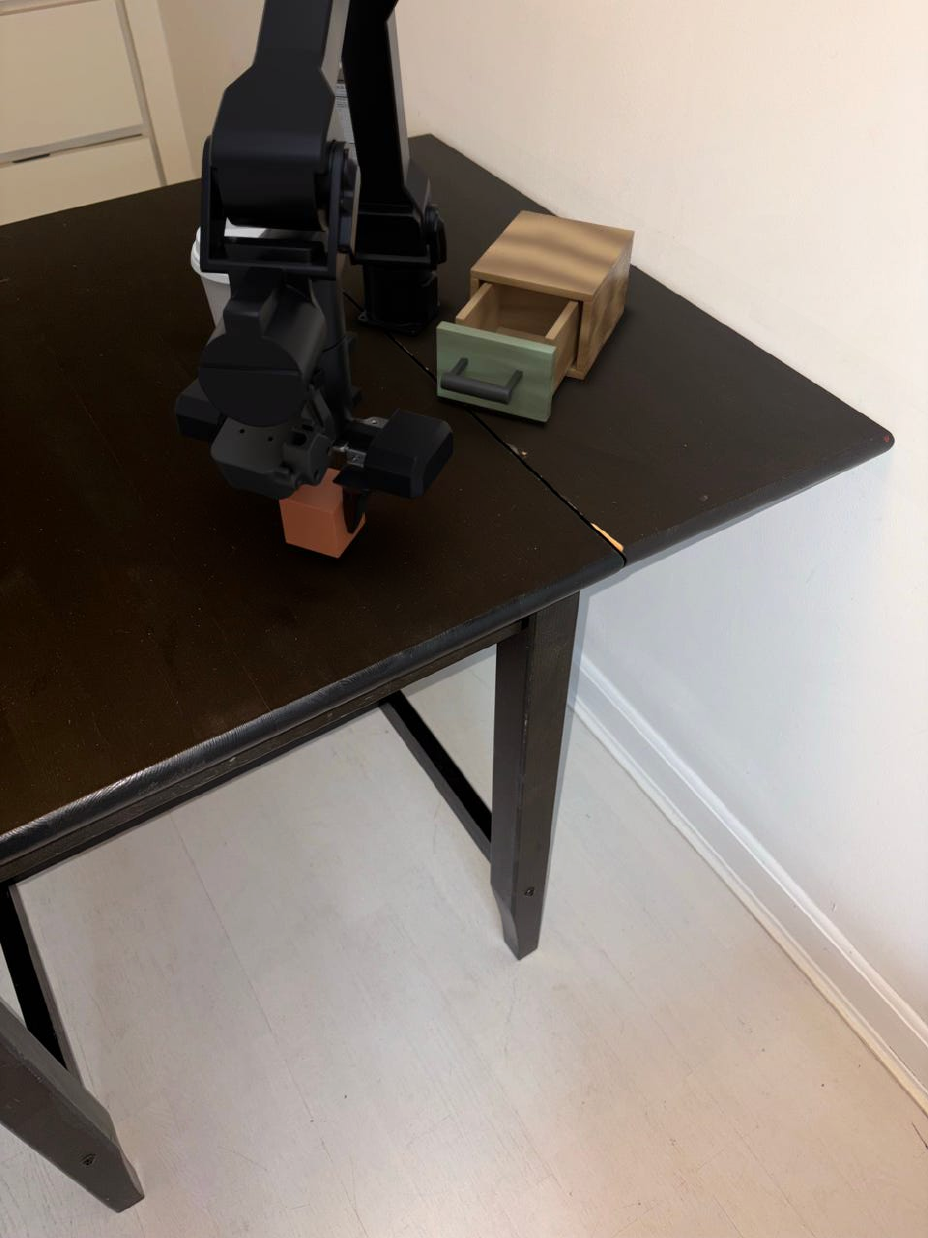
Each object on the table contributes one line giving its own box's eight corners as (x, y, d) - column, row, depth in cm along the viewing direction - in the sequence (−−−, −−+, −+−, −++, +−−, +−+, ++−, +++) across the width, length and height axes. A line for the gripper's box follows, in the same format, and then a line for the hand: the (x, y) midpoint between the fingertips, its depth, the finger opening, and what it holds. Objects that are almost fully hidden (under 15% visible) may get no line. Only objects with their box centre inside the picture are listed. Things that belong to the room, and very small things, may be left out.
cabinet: (583, 380, 89) (593, 294, 83) (468, 353, 92) (470, 269, 86) (623, 312, 98) (634, 230, 92) (517, 290, 101) (522, 209, 95)
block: (285, 542, 71) (278, 496, 67) (314, 507, 73) (308, 461, 70) (338, 558, 70) (333, 512, 66) (365, 522, 72) (361, 476, 69)
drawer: (529, 450, 80) (534, 380, 75) (417, 421, 83) (414, 352, 78) (588, 352, 91) (596, 285, 86) (487, 329, 94) (490, 263, 89)
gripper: (95, 364, 57) (155, 556, 68) (377, 438, 52) (390, 631, 63) (200, 280, 64) (238, 467, 75) (457, 339, 59) (456, 529, 70)
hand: (324, 521), depth 71 cm, fingers closed on block, 4 cm apart
